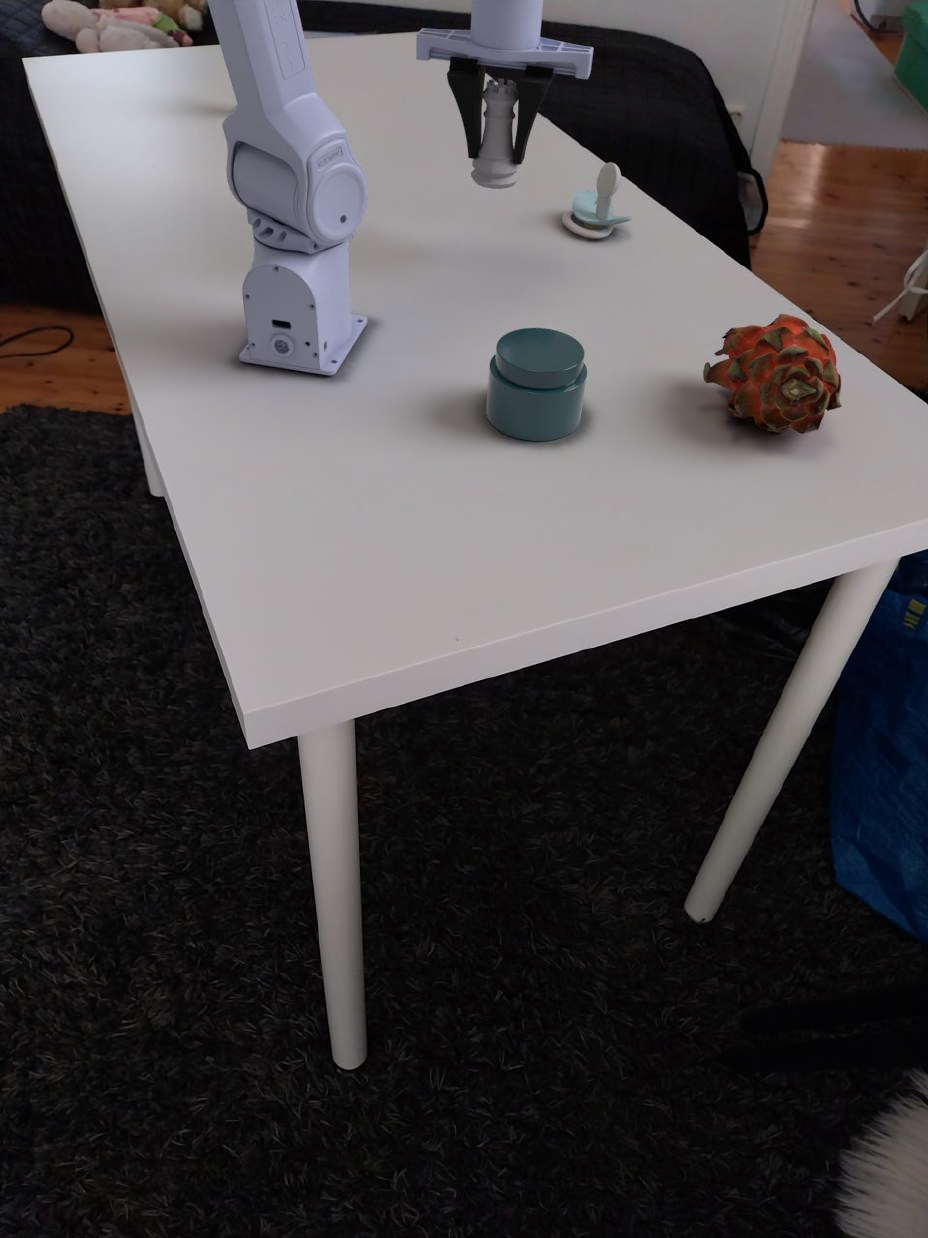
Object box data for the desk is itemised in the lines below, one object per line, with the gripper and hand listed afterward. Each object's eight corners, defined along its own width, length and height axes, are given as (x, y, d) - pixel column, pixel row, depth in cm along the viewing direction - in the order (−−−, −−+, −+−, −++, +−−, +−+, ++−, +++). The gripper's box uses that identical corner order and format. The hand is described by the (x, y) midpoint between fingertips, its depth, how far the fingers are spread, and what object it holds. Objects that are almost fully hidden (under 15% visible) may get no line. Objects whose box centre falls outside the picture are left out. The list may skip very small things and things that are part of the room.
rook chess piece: (515, 192, 85) (523, 93, 79) (465, 186, 85) (470, 87, 80) (523, 174, 88) (531, 78, 83) (475, 169, 89) (480, 72, 83)
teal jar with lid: (573, 448, 70) (583, 381, 66) (477, 432, 71) (481, 365, 67) (586, 397, 75) (596, 332, 71) (496, 383, 76) (501, 318, 72)
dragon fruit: (797, 483, 71) (709, 418, 80) (890, 405, 70) (791, 348, 79) (755, 407, 65) (666, 346, 75) (856, 321, 64) (753, 270, 73)
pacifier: (585, 248, 95) (636, 237, 97) (592, 183, 91) (646, 173, 93) (549, 219, 100) (599, 210, 102) (554, 156, 95) (606, 147, 97)
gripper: (605, -25, 78) (583, 152, 87) (431, -43, 80) (428, 132, 89) (595, -5, 73) (573, 180, 82) (410, -25, 75) (409, 158, 84)
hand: (496, 157), depth 85 cm, fingers closed on rook chess piece, 3 cm apart
